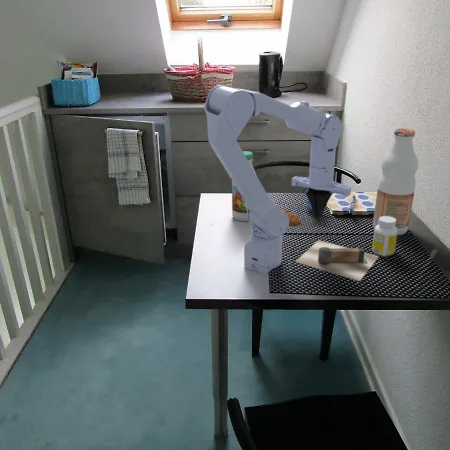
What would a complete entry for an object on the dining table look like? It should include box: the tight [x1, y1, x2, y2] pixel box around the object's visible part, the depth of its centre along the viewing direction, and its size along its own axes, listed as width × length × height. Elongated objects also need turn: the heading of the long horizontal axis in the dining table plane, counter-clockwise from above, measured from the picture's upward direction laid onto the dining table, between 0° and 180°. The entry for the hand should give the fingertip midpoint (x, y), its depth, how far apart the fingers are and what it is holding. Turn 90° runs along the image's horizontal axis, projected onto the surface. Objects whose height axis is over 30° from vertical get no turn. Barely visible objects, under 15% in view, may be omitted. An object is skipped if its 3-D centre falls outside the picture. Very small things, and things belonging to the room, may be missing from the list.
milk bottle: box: [231, 150, 258, 222], centre depth 130 cm, size 8×8×20 cm
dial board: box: [295, 239, 380, 282], centre depth 108 cm, size 14×16×1 cm
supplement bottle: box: [371, 216, 398, 257], centre depth 109 cm, size 5×5×10 cm
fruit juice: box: [372, 127, 419, 236], centre depth 118 cm, size 9×9×28 cm
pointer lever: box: [318, 247, 366, 264], centre depth 105 cm, size 11×3×3 cm, turn 90°
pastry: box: [280, 208, 301, 226], centre depth 129 cm, size 9×7×4 cm
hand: (318, 217), depth 110 cm, fingers closed
